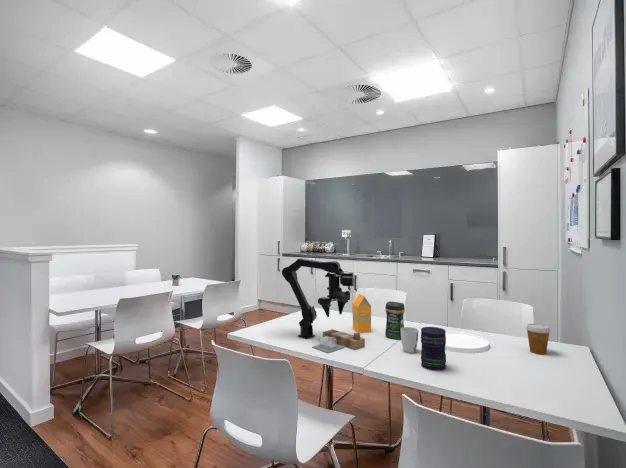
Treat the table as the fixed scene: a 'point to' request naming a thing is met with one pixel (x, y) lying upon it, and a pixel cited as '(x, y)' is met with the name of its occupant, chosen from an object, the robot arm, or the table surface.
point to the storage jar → (433, 348)
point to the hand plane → (346, 339)
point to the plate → (465, 342)
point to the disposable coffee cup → (538, 338)
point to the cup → (409, 339)
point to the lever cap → (328, 342)
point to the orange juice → (361, 315)
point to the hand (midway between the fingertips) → (334, 315)
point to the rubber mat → (327, 349)
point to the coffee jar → (394, 319)
